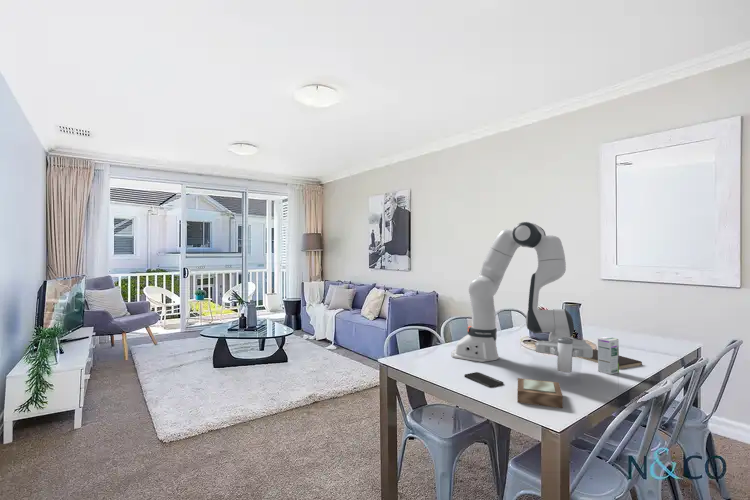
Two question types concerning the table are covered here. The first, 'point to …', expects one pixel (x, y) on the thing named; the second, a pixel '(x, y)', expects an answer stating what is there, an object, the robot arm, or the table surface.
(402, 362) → the table surface
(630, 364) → the hardcover book
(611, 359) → the syrup box
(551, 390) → the walnut base
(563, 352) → the canister
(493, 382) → the phone
